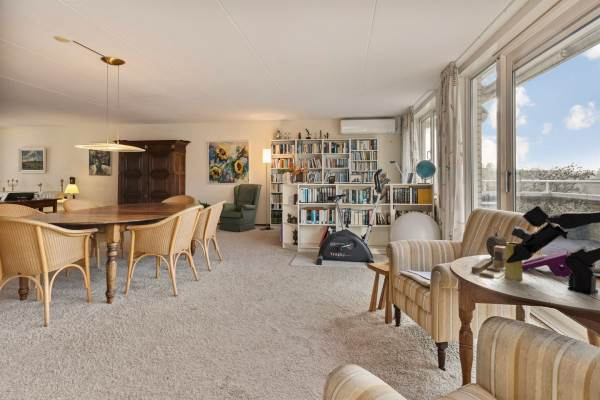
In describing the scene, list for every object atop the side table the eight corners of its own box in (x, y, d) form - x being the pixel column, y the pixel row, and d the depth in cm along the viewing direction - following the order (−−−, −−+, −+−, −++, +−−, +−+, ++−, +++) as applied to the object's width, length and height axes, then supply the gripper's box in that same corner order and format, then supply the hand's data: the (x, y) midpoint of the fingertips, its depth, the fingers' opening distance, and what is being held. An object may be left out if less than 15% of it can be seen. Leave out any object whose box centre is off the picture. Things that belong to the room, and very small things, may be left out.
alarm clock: (507, 262, 154) (508, 228, 153) (496, 262, 154) (497, 228, 153) (494, 256, 165) (495, 225, 164) (483, 256, 165) (484, 225, 164)
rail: (513, 266, 147) (513, 246, 146) (497, 279, 130) (497, 256, 129) (487, 262, 155) (487, 243, 154) (469, 274, 138) (469, 252, 137)
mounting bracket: (527, 285, 139) (578, 274, 128) (517, 267, 141) (566, 254, 130) (529, 279, 146) (577, 268, 135) (520, 262, 148) (566, 249, 137)
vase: (522, 281, 127) (523, 245, 126) (504, 279, 130) (505, 244, 129) (522, 277, 132) (522, 242, 131) (504, 275, 135) (505, 241, 134)
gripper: (531, 218, 133) (500, 241, 142) (520, 223, 120) (487, 248, 129) (555, 239, 128) (521, 261, 136) (546, 247, 115) (509, 271, 123)
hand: (509, 260), depth 131 cm, fingers open, 8 cm apart
